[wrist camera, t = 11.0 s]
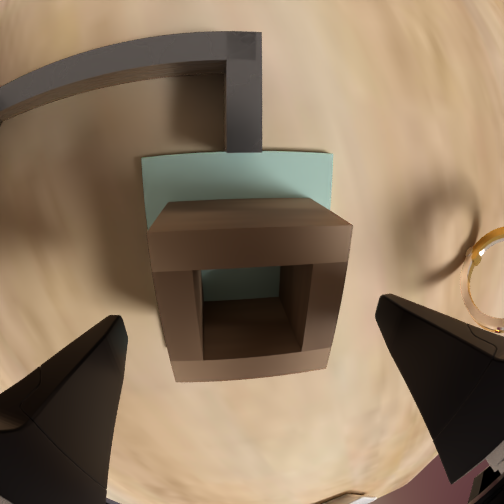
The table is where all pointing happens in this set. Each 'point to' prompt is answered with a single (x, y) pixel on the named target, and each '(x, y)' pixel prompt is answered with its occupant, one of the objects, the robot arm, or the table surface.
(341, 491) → the table surface
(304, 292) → the brown square cubby
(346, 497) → the tray
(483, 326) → the ring
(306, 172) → the pad
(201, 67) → the hook
